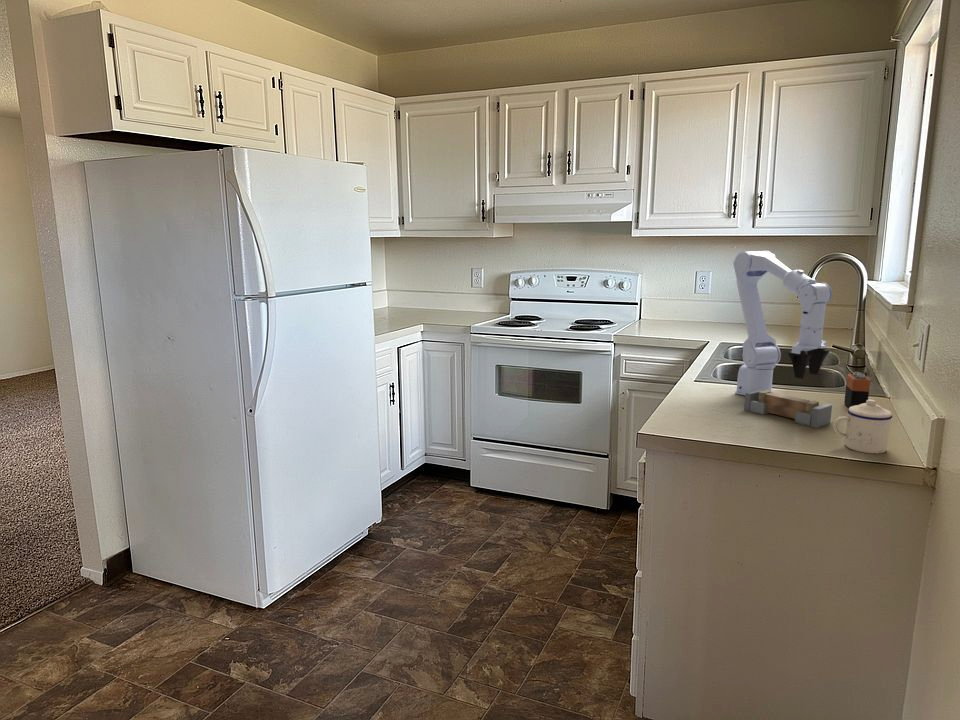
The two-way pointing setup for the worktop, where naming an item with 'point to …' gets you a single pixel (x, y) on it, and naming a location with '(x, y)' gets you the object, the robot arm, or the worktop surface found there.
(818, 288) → the robot arm
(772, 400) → the rail
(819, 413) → the post slots
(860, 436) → the teacup with lid
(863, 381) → the battery
